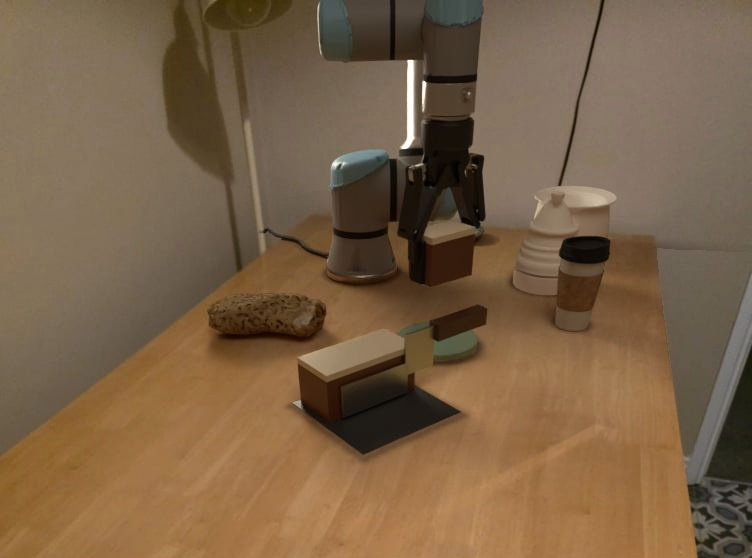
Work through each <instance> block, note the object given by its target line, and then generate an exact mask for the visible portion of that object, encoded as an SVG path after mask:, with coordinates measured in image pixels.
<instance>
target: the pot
mask: <svg viewBox="0 0 752 558" xmlns="http://www.w3.org/2000/svg"><path fill="white" fill-rule="evenodd" d="M553 191H562V192H565V197H564V199H563V201H564V202H565V203H566V205H567V207H568V209H569V211H570V214H571V217H572V220H573V221H575V222H577V223H578V224H579V226H580V229H579V231H578V232H577V233H575V235H576V236H602V237H605V238H608V235H609V230H610V220H611V219H610V218H611V206H612V205H614V204H615V203H616V202H617V199H618V198H617V196H616V194H615V193H613V192H611V191H609V190H606V189H602V188H600V187H599V188H598V187H593V186H582V185H558V186H550V187H545V188H541V189H539V190H537V191H536V192H535V193H534V199H535V200H536V201H538V203H537V206H536V209H535V212H534V218H533V220H534V219H535V217H536V216H537V214H538V213H539V211H540V210H541V208H542V207H543V206H544V205H545V203H546V202H548V201H549V200H550V199H552V198H551V192H553Z"/></svg>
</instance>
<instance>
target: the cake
mask: <svg viewBox="0 0 752 558" xmlns="http://www.w3.org/2000/svg"><path fill="white" fill-rule="evenodd" d="M397 334H398V333H394V332H393V331H391V330H389V329H387V328H384V327H383V328H380V329H377V330H373V331H371V332H368V333H366V334H363V335H360V336H357V337H353V338H350V339H347V340H345V341H341V342H339V343H335V344H332V345H330V346H327V347H324V348H321V349H317V350H315V351H312V352H311V351H310V352H308V353H306V354H303V355H300V356H297V357H296V360H297V370H298V371H297V372H298V373H297V374H298V385H299V395H300V396H299V397H300V400H301V403H302V404H303V405H305V406H306V407H307V408H309V409H310V410H312V411H313V412H314V413H316V414H317V415H319V416H320V417H321V418H323V419H324V420H325V421H327V422H328V423H331V422H334V421H336V420H339V419H341V418H342V410H341V390H340V386H343V385H345V384H348V383H351V382H353V381H356V380H359V379H361V378H364V377H367V376H370V375H372V374H375V373H378V372H380V371H383V370H386V369H388V368H391V367H394V366H396V365H399V364H402V363H404V338H402V337H400V336H399V335H397ZM415 375H416V372H414V373H411V374H409V375H408V381H407V392H409V391H411V390H414V385H415V380H416V379H415Z"/></svg>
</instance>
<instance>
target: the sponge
mask: <svg viewBox="0 0 752 558" xmlns="http://www.w3.org/2000/svg"><path fill="white" fill-rule="evenodd" d="M206 312H207V316H208V326H209V327H210V328H212V329H213V330H217V331H218V332H219V333H223V334H228V335H240V336H241V335H242V336H244V335H247V336H248V335H257V334H263V333H277V334H278V333H280V334H285V335H292V336H295V337H298V338H299V337H303V338H304V337H306V338H307V337H309V336H311V335H312V334H313V333H315V332H316V331H318V330H321V329H322V327H323V326H324V324H325V320H326V316H327V304H326V303H325V302H322V300H321V299H318V298H317V297H311V296H309V297H308V296H307V295H303V294H300V293H292V292H291V293H290V292H278V293H277V292H276V293H275V292H274V293H273V292H272V293H271V292H269V293H237V294H232V295H227V296H224V297H222V298H219V299H218V300H216V301H215V302H214V303H211V304H210V306H208V308H206Z"/></svg>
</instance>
